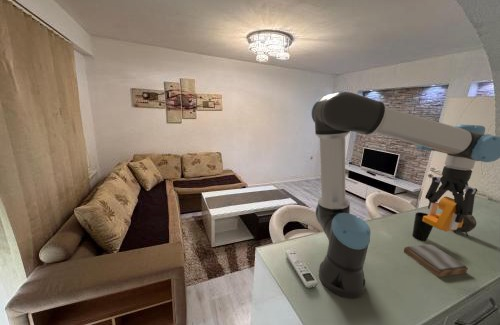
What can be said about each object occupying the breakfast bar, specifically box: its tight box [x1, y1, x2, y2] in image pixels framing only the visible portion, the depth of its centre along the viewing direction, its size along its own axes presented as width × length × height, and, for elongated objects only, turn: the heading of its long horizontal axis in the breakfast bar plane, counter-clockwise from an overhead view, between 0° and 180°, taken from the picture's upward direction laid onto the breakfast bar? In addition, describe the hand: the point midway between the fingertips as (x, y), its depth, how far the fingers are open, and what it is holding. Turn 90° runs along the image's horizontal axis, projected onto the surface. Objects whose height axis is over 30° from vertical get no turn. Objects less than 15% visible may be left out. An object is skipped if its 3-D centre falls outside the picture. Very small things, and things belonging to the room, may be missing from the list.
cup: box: [412, 211, 434, 242], centre depth 99 cm, size 8×8×12 cm
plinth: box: [403, 244, 469, 278], centre depth 84 cm, size 14×14×3 cm
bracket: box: [422, 196, 463, 232], centre depth 79 cm, size 11×7×12 cm, turn 104°
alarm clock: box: [452, 214, 477, 237], centre depth 105 cm, size 11×5×16 cm, turn 28°
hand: (441, 222), depth 80 cm, fingers closed on bracket, 8 cm apart
